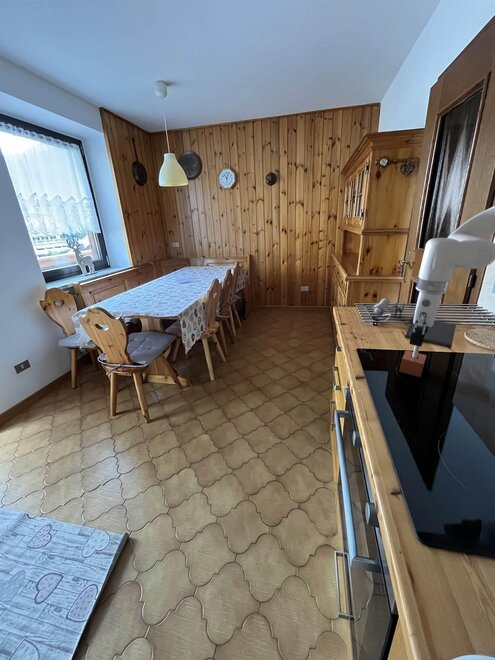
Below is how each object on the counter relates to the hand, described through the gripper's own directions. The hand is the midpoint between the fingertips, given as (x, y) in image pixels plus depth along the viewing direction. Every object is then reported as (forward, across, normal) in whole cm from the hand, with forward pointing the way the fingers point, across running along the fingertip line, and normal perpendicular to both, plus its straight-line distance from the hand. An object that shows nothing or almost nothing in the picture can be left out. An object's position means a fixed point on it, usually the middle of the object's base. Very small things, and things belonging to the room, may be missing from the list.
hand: (418, 338), depth 87 cm
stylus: (+12, 0, 0) cm, 12 cm away
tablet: (+11, +32, -2) cm, 34 cm away
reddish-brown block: (+12, 0, 0) cm, 12 cm away
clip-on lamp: (+12, +39, +17) cm, 44 cm away
